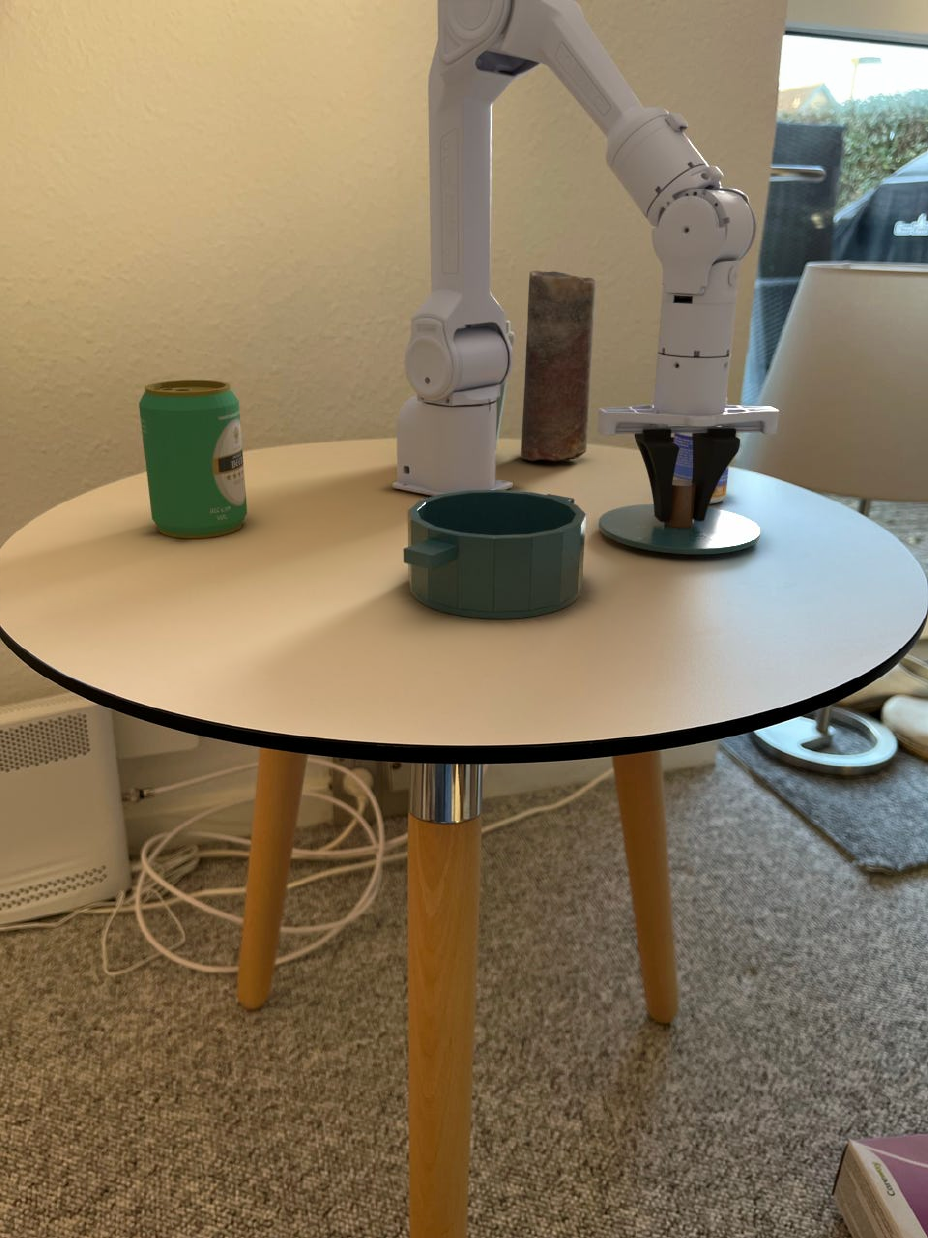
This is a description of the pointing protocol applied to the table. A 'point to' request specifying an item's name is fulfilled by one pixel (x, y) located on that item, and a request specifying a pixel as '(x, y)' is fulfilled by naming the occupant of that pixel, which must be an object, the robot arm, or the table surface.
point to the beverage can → (193, 457)
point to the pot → (495, 553)
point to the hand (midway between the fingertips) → (678, 518)
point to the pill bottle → (686, 465)
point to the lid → (680, 526)
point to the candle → (557, 366)
